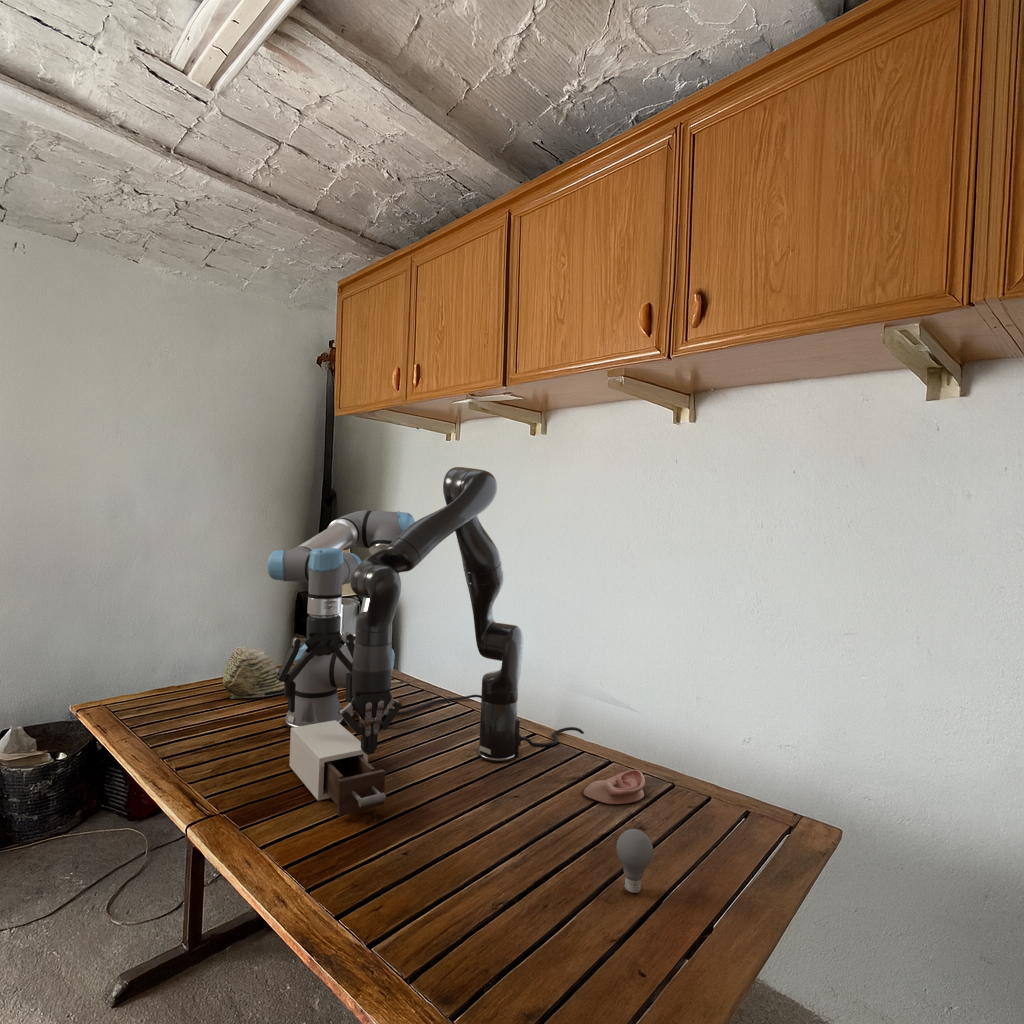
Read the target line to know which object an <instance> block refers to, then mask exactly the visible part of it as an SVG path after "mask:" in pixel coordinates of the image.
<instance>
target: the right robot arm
mask: <svg viewBox="0 0 1024 1024" xmlns="http://www.w3.org/2000/svg"><path fill="white" fill-rule="evenodd" d="M442 489H443V490H442V493H443V497H444V501H445V506H443V507H441V508H440V509H438V510H436V511H434V512H432V513H430V514H428V515H425V516H423V517H421V518H419V519H418V520H416V521H415V522H414V523H413V524H411V525H410V526H409V527H407V528H406V529H405V530H404V531H403V532H402V533H401V534H400V535H399V536H398V537H397V538H396V539H394V540H393V541H392V543H391V544H389V545H388V546H386V547H384V548H382V549H381V550H379V551H377V552H376V553H374V554H373V555H371V554H370V555H369V556H368V557H366V558H364V559H363V560H361V563H360V564H359V565H358V566H357V567H356V568H355V570H354V571H353V573H352V575H351V579H350V583H349V584H350V589H351V590H352V592H353V593H354V594H355V595H357V596H358V597H361V598H368V599H370V600H369V605H368V609H367V611H365V612H362V613H359V614H357V616H356V619H355V628H354V629H355V631H354V634H355V646H354V652H353V661H352V665H353V670H352V695H351V697H350V699H349V703H348V704H346V705H345V706H344V707H341V708H340V709H339V710H338V713H339V715H340V716H341V717H342V718H343V722H344V723H346V724H347V725H348V727H349V728H350V729H351V730H352V731H353V732H354V733H355V734H356V735H359V736H360V742H361V749H362V751H364V753H365V754H366V755H368V756H369V755H372V754H373V755H374V754H375V751H376V750H377V748H378V737H379V733H380V732H381V731H386V730H387V729H388V727H389V726H390V725H391V724H392V722H393V720H395V717H396V716H397V715H396V714H397V713H398V712H400V711H401V709H402V706H403V704H402V702H400V701H398V700H396V699H395V698H393V693H392V691H391V688H392V674H391V672H392V673H393V671H392V649H393V648H392V639H393V637H392V636H393V620H394V617H395V614H396V611H397V608H398V604H399V601H400V597H401V593H402V580H401V576H400V573H407V572H410V571H412V570H414V569H415V568H416V567H417V566H419V564H420V563H421V562H422V561H423V560H424V559H425V558H426V557H427V556H429V554H431V552H432V551H433V550H435V548H436V547H437V546H439V545H440V543H442V542H444V540H445V539H447V538H448V537H449V536H450V535H452V534H453V533H455V535H456V540H457V544H458V549H459V552H460V556H461V562H462V563H461V564H462V568H463V573H464V577H465V581H466V582H465V583H466V586H467V589H468V593H469V598H470V603H471V604H470V605H471V610H472V616H473V626H474V633H475V634H474V635H475V642H476V647H477V650H478V653H479V655H480V656H481V657H483V658H485V659H487V660H493V661H498V662H501V667H500V669H499V670H493V671H489V672H487V673H485V674H483V676H482V678H481V694H480V695H481V698H480V718H479V719H480V722H479V744H478V756H479V758H481V759H482V760H485V761H488V762H491V763H505V762H509V761H511V760H513V759H516V758H519V755H520V753H519V752H520V751H519V750H520V746H521V745H522V743H521V742H522V741H524V742H527V743H528V745H530V746H533V747H540V748H541V747H546V748H547V747H553V746H555V745H557V744H558V743H559V738H558V737H557V736H556V735H558V734H560V733H564V732H568V731H575V732H578V733H579V734H581V735H584V734H585V732H584V730H582V729H581V728H579V727H576V726H567V727H563V728H560V729H557V730H555V731H553V732H552V736H551V737H552V738H553V739H554V741H551V742H534V741H532V740H531V739H530V738H529V737H526V736H522V734H520V729H521V728H520V727H521V719H520V718H519V717H518V705H519V704H518V703H519V684H520V683H519V682H520V678H521V673H522V672H521V671H522V659H523V650H524V633H523V631H522V628H521V627H520V626H519V625H516V624H509V623H504V622H496V621H495V617H494V614H493V612H494V611H493V606H494V603H495V601H496V600H497V598H498V596H499V594H500V592H501V590H502V588H503V585H504V583H505V573H504V567H503V562H502V557H501V554H500V551H499V549H498V547H497V545H496V543H495V542H494V541H493V539H492V538H491V536H490V535H489V534H488V532H487V531H486V530H485V528H484V527H483V525H482V523H481V522H480V519H479V515H480V514H481V513H483V512H484V511H485V510H487V509H488V508H489V507H490V506H491V505H492V504H493V502H494V501H495V499H496V497H497V492H498V483H497V480H496V478H495V476H494V475H493V473H491V472H489V471H487V470H485V469H479V468H472V467H465V466H454V467H451V468H450V469H449V470H448V471H447V472H446V473H445V475H444V478H443V481H442ZM353 712H356V713H357V714H358V715H357V716H358V720H359V724H358V723H357V722H356V720H355V719H354V718H353V716H354V715H353ZM383 712H384V713H383ZM382 713H383V715H382Z"/></svg>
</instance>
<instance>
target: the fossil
mask: <svg viewBox="0 0 1024 1024" xmlns="http://www.w3.org/2000/svg"><path fill="white" fill-rule="evenodd" d="M279 669H280V668H278V667H277V665H276V663H275V662H274V660H273V659H272V658H271V657H270V656H269V655H268V654H267V653H266V652H265V650H264V649H263V648H260V647H258V648H251V647H247V646H246V647H245V646H238V647H237V648H236V649H235V650H233V651H232V653H231V656H230V657H229V659H228V660H227V663H226V666H225V668H224V671H223V675H222V676H223V677H222V685H223V687H224V688H225V690H226V691H228V693H229V698H230V699H250V698H264V697H271V696H275V695H281V694H284V682H280V681H279V680H278V679H277V678H276V675H277V673H278V671H279Z"/></svg>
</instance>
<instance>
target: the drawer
mask: <svg viewBox="0 0 1024 1024" xmlns="http://www.w3.org/2000/svg"><path fill="white" fill-rule="evenodd" d="M385 785H386V770H384V769H383V768H382V769H378V770H376V768H375V767H374V766H373V765H372V764H371V763H369V761H368V762H367V761H366V760H365V759H364V758H363V757H361V756H360V755H357V756H352V757H347V758H343V759H338V760H333V761H328V762H324V785H323V789H324V791H325V792H326V793H327V794H328V795H329V796H330V798H329V799H331V800H332V801H333V802H334V804H335V805H336V815H337V816H338V817H341V816H345V815H349V814H353V813H356V812H361V811H365V810H368V809H372V808H375V807H380V806H383V805H385V801H387V795H386V793H385V789H386V786H385Z"/></svg>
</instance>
